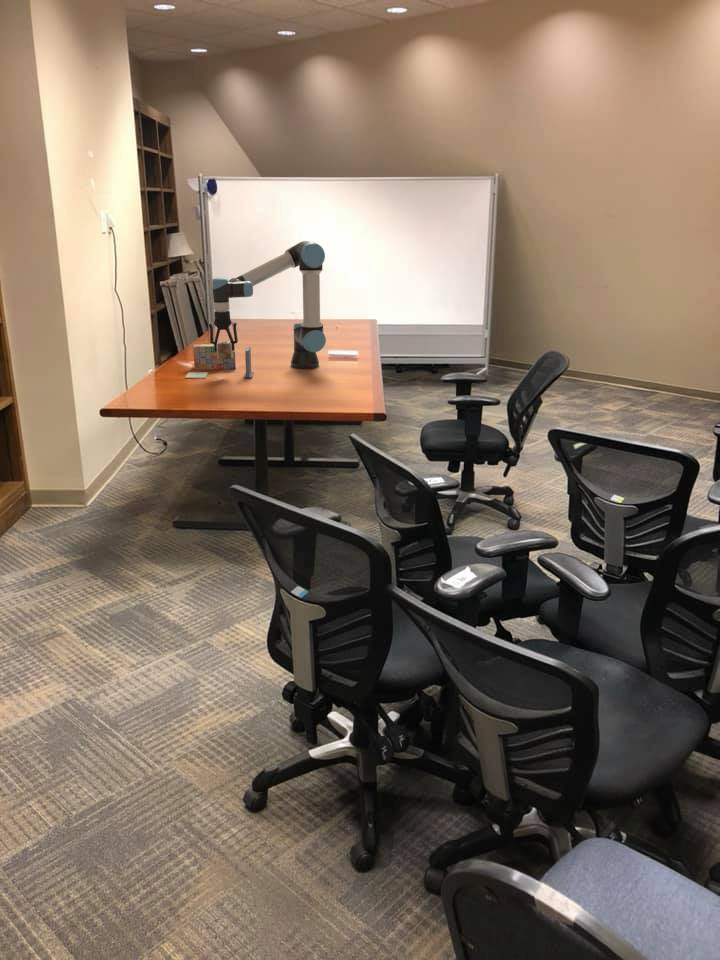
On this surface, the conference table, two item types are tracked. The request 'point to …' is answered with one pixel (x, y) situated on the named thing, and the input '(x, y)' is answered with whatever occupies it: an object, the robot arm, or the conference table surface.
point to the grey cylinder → (224, 350)
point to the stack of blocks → (210, 358)
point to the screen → (248, 364)
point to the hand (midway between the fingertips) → (225, 357)
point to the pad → (197, 375)
